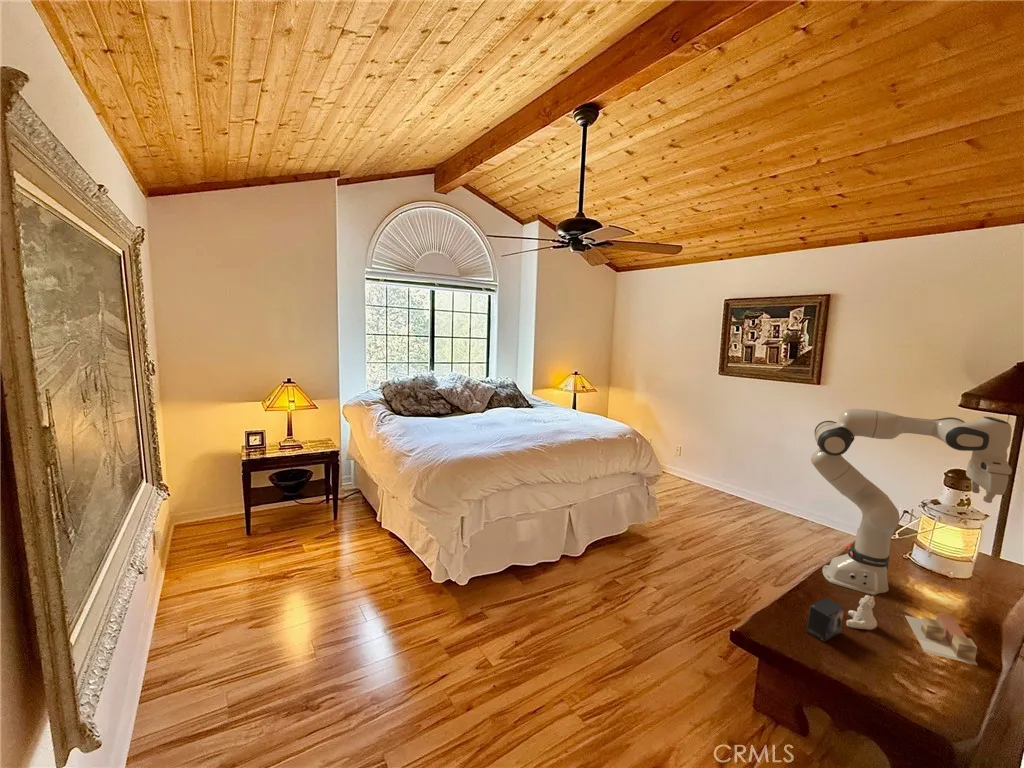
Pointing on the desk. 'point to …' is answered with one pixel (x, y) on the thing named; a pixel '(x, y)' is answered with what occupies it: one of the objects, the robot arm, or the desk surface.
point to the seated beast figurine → (863, 615)
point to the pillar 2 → (964, 647)
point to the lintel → (950, 627)
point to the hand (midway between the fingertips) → (981, 497)
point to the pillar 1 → (932, 629)
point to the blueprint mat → (933, 642)
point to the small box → (825, 619)
